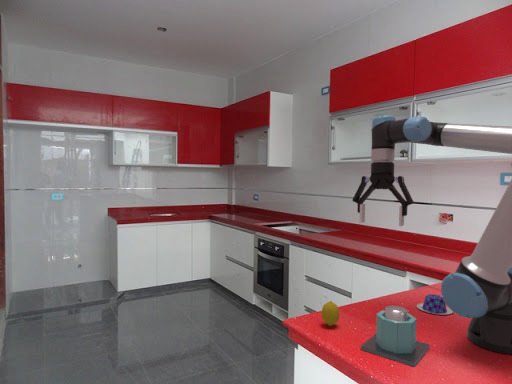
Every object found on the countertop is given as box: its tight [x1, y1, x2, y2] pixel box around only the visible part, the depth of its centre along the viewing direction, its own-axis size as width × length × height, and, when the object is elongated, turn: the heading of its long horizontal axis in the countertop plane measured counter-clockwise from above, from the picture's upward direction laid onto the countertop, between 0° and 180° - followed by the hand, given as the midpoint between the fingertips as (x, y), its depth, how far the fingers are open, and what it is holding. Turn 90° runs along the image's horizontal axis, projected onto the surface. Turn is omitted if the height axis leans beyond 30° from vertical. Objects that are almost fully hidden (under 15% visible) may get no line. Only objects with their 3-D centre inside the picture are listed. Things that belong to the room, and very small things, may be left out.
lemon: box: [321, 300, 340, 327], centre depth 114 cm, size 6×6×8 cm
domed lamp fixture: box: [360, 305, 431, 368], centre depth 99 cm, size 14×14×11 cm
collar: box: [375, 309, 418, 354], centre depth 99 cm, size 10×10×8 cm
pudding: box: [416, 293, 454, 315], centre depth 131 cm, size 12×12×5 cm
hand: (381, 224), depth 123 cm, fingers open, 13 cm apart
